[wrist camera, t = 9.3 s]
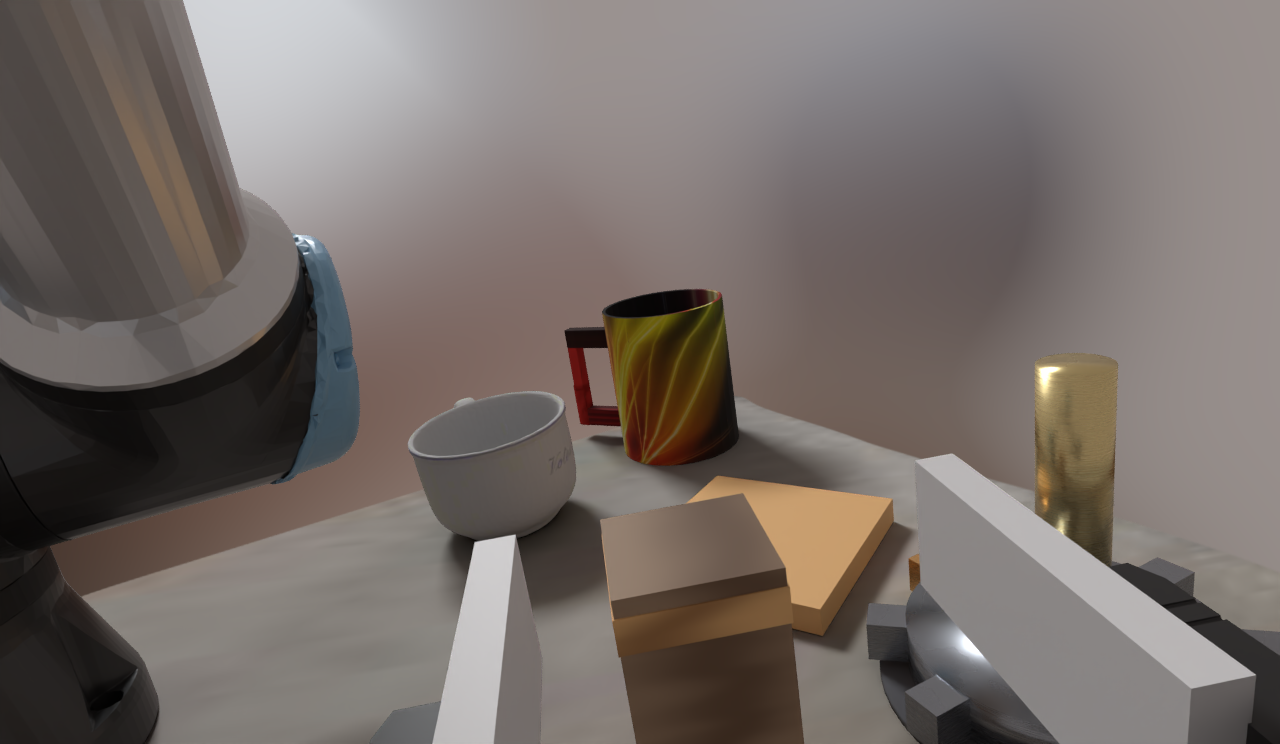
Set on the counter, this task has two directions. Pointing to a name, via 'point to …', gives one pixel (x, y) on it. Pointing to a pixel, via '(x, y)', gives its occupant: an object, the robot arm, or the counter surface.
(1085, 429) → the sprocket
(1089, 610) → the robot arm
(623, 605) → the link block
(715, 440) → the mug
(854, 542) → the light orange square slab
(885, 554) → the counter surface
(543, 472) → the teacup
